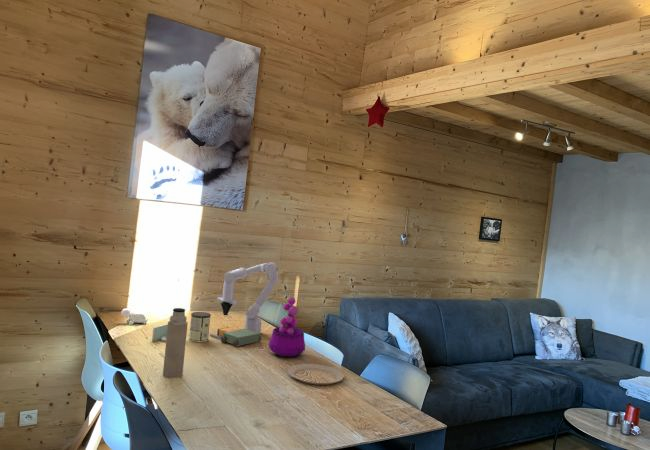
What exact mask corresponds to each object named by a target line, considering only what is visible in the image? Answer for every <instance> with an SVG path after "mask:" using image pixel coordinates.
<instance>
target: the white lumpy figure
mask: <svg viewBox="0 0 650 450" xmlns="http://www.w3.org/2000/svg"><path fill="white" fill-rule="evenodd" d="M120 315H121V316H122V317H124V318H127V319H126V322H127V323H128V325H129V326H132V325H134V324H135V323H136V324H141V323H145V325H146V324H147V322H148V319H147V317H146V314H145V313H144V312H143V311H140V310H138V311H137V310H132V311H131V309H129V308H123V309H122V310H121V311H120Z"/></svg>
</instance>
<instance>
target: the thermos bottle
mask: <svg viewBox="0 0 650 450" xmlns="http://www.w3.org/2000/svg"><path fill="white" fill-rule="evenodd" d="M172 311H173V312H172V315H171V316H170V317H169V321H167V324H168V328H167V338H166V342H165V351H164V359H163V360H164V361H163V368H162V370H163V371H162V376H163V377H165V378H171V379H174V378H175V379H176V378H180V377H182V376H183V373H184V362H185V353H186V342H187V333H188V324H189V323H188V321H187V316H186V314H185V313H186V309H185V308H181V307H176V308H173V309H172Z"/></svg>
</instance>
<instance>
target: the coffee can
mask: <svg viewBox="0 0 650 450" xmlns="http://www.w3.org/2000/svg"><path fill="white" fill-rule="evenodd" d="M211 316H212V314H211V313H209V312H205V311H194V312H191V313H190V326H189V336H188V337H189V338H188V340H189V341H190V342H192V343H193V342H194V343H205V342H207V341H209V336H210V333H209V332H210V326H211V325H210V324H211Z"/></svg>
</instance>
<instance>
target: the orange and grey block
mask: <svg viewBox="0 0 650 450" xmlns="http://www.w3.org/2000/svg"><path fill="white" fill-rule="evenodd" d="M235 330H238V329H236V328H233V327H231V326H227V327H222V328H220V327H219V328H217V332H216V333H217V334H216V335H217V336H220V337H222V336H223V333H224V332H229V331H235Z"/></svg>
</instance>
